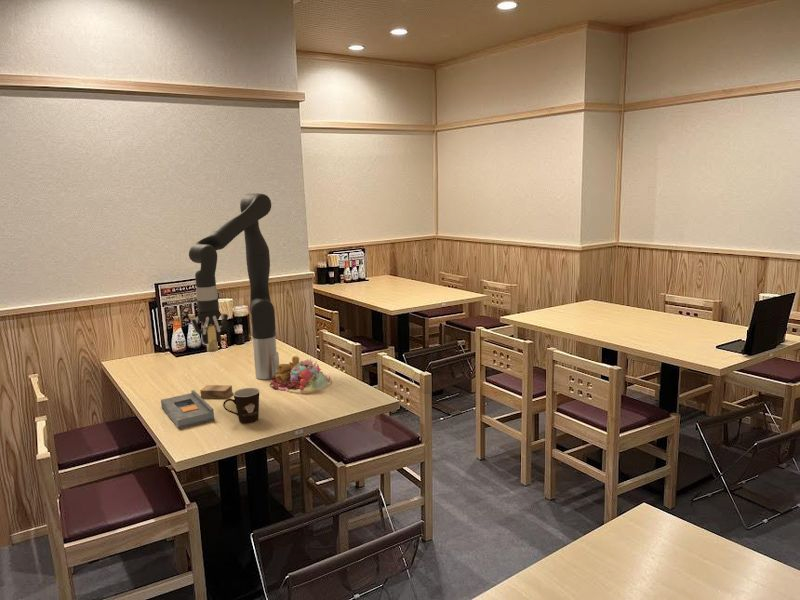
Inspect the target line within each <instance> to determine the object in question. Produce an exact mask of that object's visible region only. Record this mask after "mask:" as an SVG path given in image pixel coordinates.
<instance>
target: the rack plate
mask: <svg viewBox="0 0 800 600" xmlns="http://www.w3.org/2000/svg"><path fill="white" fill-rule="evenodd" d="M190 392H191V393H185V394H182V395H181V394H180V395H176V396H172V397H167V398H164V399H160V404H161V405H160V406H161V408H162V410H163V411H164V413H166V415H167V416H168V418H169V419H170V420H171V421H172V423H173V424H175V427H176V428H177V429H178V430H180V429H183V428H184V429H185V428H187V427H191V426H195V425H199V424H205V423H209V422H212V421H215V413H214V408H213V407H212V406H211V405H210V404H209V403H208V402H207V401H206V400H205V398H202V397H201V395H200V394H199V393H197V392H196V391H195V390H194V389H193V390H191V391H190Z"/></svg>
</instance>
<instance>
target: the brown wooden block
mask: <svg viewBox="0 0 800 600" xmlns="http://www.w3.org/2000/svg"><path fill="white" fill-rule="evenodd" d="M232 386H233V385H231V384H230V385H226V384H222V385H219V384H213V385H212V384H206V385H205V386H204V387H203V388H202V389H200V396H201V397H202V398H203V399H227V398H228V397H229V396H230V395H233V387H232Z"/></svg>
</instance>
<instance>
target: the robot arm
mask: <svg viewBox="0 0 800 600" xmlns="http://www.w3.org/2000/svg"><path fill="white" fill-rule="evenodd" d="M239 203H240V204H239V205H240V208H239V209H240V213H239V214H237V215H236V216H234V217H231V218H230V219H228V220H226V221H225V222H223V223H221V224H220V225H219V226H218V227H216V228H215V229H214V230H213V231H212V232H211V233H209V235H207V236H205V237H204V238H203V237H202V238H201V239H200V240H198V241H196V242H195V243H194V244H193V245H192V246H191V247H190V249H189V251H188V256H189V259H190V261H192V262H193V263H195V264H200V270H197V271H196V272H195V275H194V276H195V277H194V278H195V286H196V287H195V288H196V291H195V294H196V304H197V311H198V313H197V316H196V317H194V318H190V323H191V325H192V327H193V329H194V331H195V333H197V334H198V335H200V334H201V340H202V343H203V344H204V345H207V344H208V342H207V334H206V330H207V327H208V325H210V324H215V326H216V332H217V342H218V343H220V341H221V339H222V336H221V332H222V331H224V330H225V329H226V328H227V327H226V326H227V322H228V319H229V314H227V313H225V312H224V313H222V312H221V311H220V305H219V294H218V288H217V280H216V271H217V264H218V252H217V251H220V250H224V248H225V247H227V246H228V245H229V244H230V243H231V242H232V241H233V240H234V239H235V238H236V237H238V236H239V235H240V234H242V232H244V242H245V243H244V244H245V257H246V259H245V261H246V268H247V274H248V275H247V276H248V279H249V280H248V281H249V285H250V286H249V288H250V294H249V295H250V299H249V311H250V315H251V327H252V329H251V334H252V346H253V347H252V348H253V356H254V357H253V358H254V359H253V360H254V369H255V371H254V372H255V378H256V379H259V380H273V379H272V377H274V376H276V373H277V372H279V370H278V369H277V367H278V366H279V365H280V358H279V352H278V351H277V340H276V327H277V326H276V315H275V314H276V311H275V307H274V305H273V303H272V301H271V296H270V289H269V278H270V272H271V260H270V259H271V256H270V249H269V246H268V244H267V241H266V239H265V238H264V236H263V234H262V232H261V229H260V224H259V220H261V219H262V218H264V217H265V216H267V215H268V214H269V213H270V211H271V209H272V201H271V199H270V197H269V196H268V195H266V194H264V193H257V192H256V193H245V194H244V195H243V196H242V197H241V199H240V202H239ZM219 319H221V322H220V325H219V322H218V321H219ZM199 322H201V326H200V327H201V329H200V327H199V325H198V323H199Z"/></svg>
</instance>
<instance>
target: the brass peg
mask: <svg viewBox="0 0 800 600" xmlns="http://www.w3.org/2000/svg"><path fill="white" fill-rule="evenodd" d="M206 334H207V342H208V344H206V352H207V353H215V352H218V351H219V345H218V343H219V342H217V332H216V326H215V324H210V325H208V327H207V330H206Z"/></svg>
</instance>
